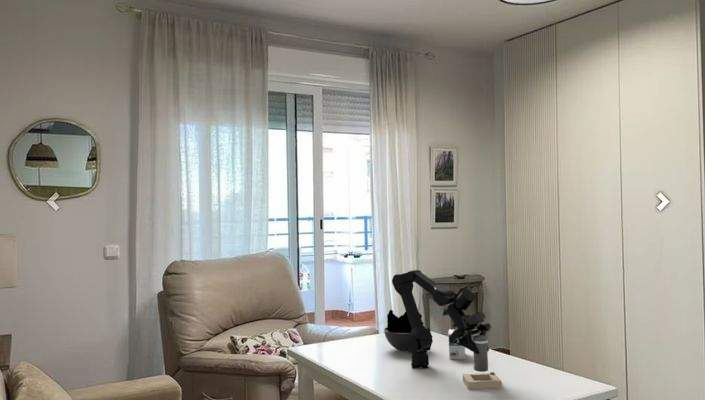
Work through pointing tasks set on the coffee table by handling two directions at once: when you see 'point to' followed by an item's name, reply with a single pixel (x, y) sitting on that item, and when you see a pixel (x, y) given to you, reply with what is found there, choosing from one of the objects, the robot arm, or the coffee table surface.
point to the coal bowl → (398, 330)
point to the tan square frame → (482, 381)
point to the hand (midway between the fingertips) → (483, 352)
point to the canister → (481, 353)
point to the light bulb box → (456, 349)
